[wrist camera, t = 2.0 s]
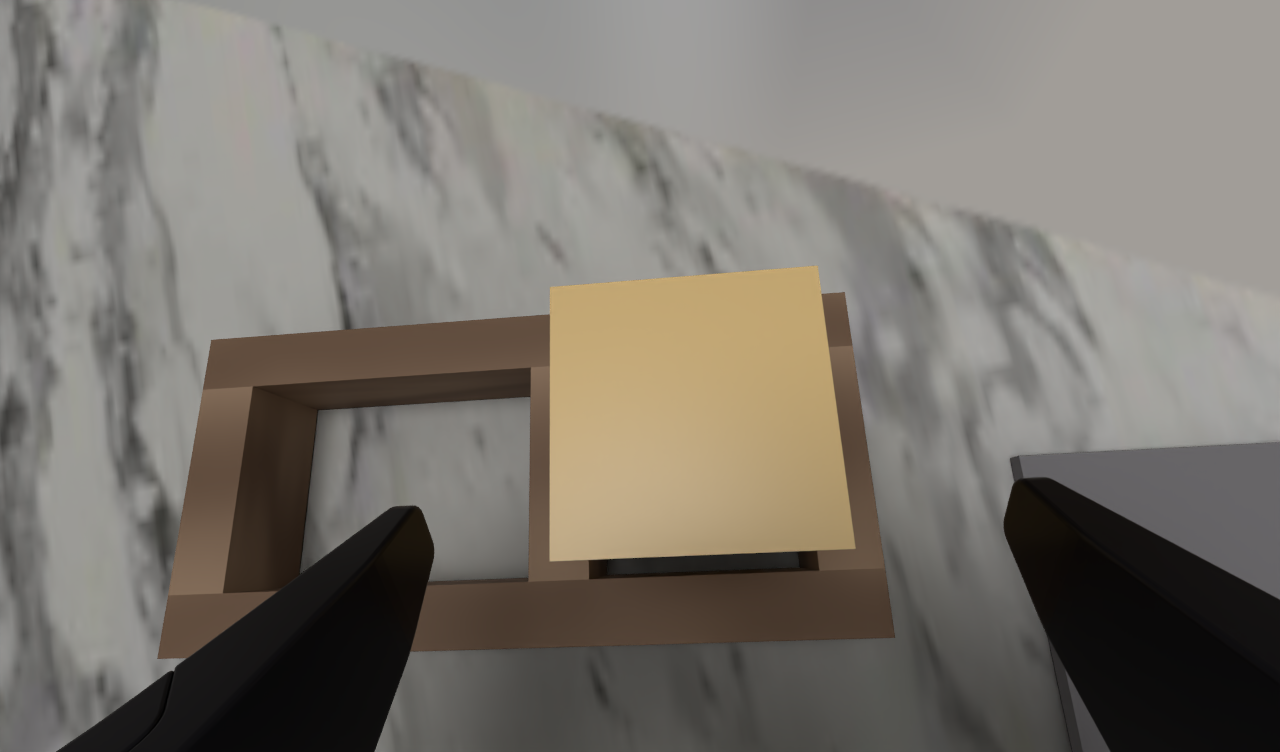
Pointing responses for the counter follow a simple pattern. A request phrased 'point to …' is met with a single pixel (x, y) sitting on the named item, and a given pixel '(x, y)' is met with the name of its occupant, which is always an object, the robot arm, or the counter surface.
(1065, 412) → the counter surface
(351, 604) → the robot arm
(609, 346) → the ochre plug
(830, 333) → the brown divided frame
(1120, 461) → the charcoal mat
